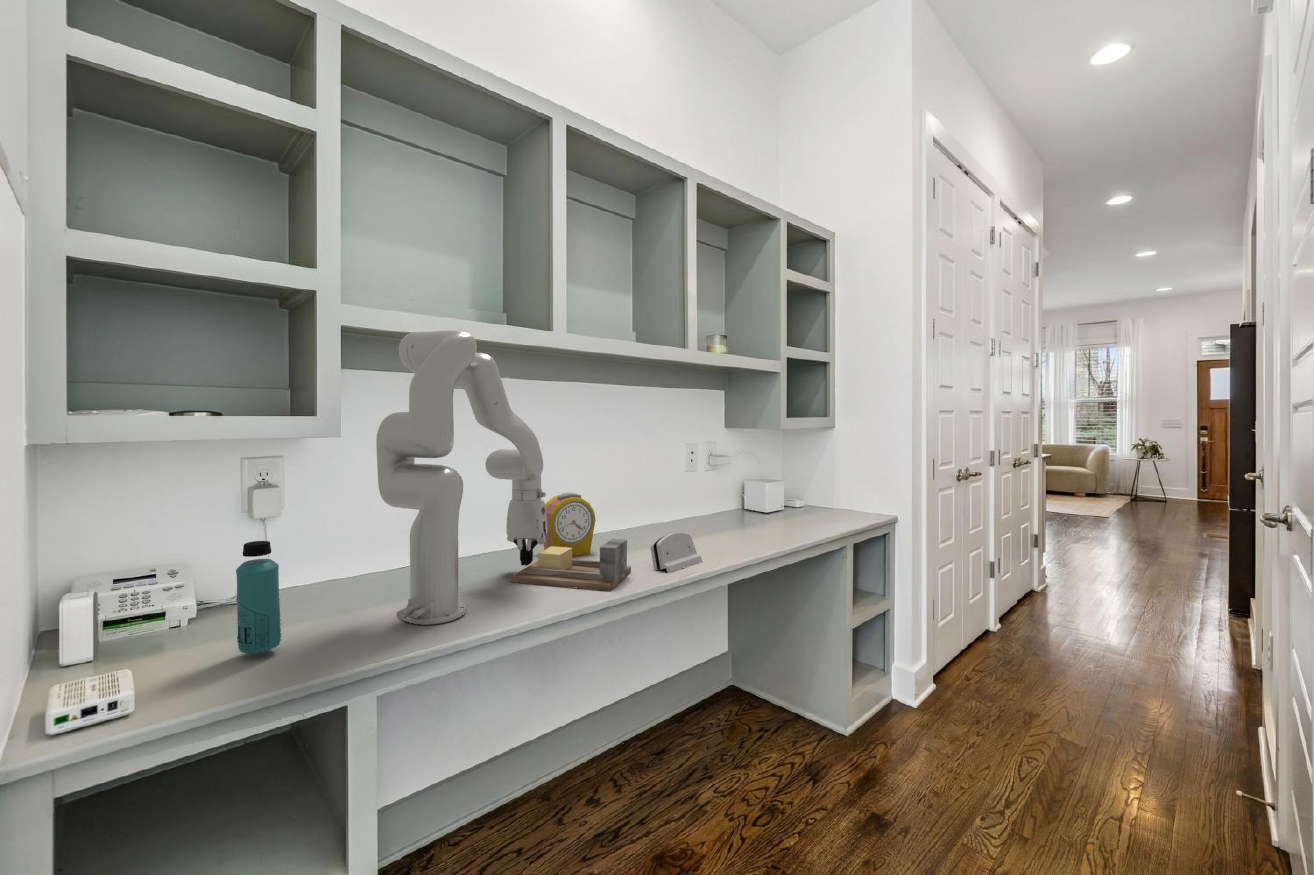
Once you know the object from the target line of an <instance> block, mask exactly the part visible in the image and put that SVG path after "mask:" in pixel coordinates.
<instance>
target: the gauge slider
mask: <svg viewBox="0 0 1314 875" xmlns="http://www.w3.org/2000/svg"><path fill="white" fill-rule="evenodd" d="M537 557H538V558H537V561H538V568H545V569H557V570H567V569H569V568H570V567H572V559H573V556H572V548H570V546H566V547H554V546H551V547H549V548H547V549H545V550H544V549H543V550H542V551H540V552H538V556H537Z"/></svg>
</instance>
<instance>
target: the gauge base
mask: <svg viewBox="0 0 1314 875" xmlns="http://www.w3.org/2000/svg"><path fill="white" fill-rule="evenodd" d="M627 562H628V539H619V538H612V539H610V540H609V541H607V542H606V543H604V544H602V545H601V546H600V547H599V560H590V559H577V558H572V567H570V568H569V569H567V570H557V569H545V568H538V560H537V561H535V562H534V563H531V564H529V565H528V566H527V567H525V568H523V569H521V570H520V571H518V572H516V573H514V574H513V575H511V576H510V581H511V583H515V582H520V583H519V584H526V583H530V584H529V585H537V584H539V586H548V585H550V587H559V586H560V587H561V588H570V587H577V588H576V589H581V588H585V589H584V590H592V589H597V590H596V591H603V590H605V591H604V592H611V591H612V590H613V589H614V588H615V587H616V586H617V585H618V584H619V583H620V582H621V581H623V579H625V578H626V577H627V576H628V575H629V574H630V573H632V566H631V565H628V564H627ZM613 587H614V588H613ZM612 588H613V589H612ZM611 589H612V590H611Z"/></svg>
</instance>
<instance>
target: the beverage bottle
mask: <svg viewBox="0 0 1314 875" xmlns="http://www.w3.org/2000/svg"><path fill="white" fill-rule="evenodd" d="M242 546H243V547H242V548H243V549H242V556H243V557H245V558H246V557H248V558H252V557H254V558H255V557H262V556H267V555H271V554H272V547H271V542H270V541H268V540H253V541H249V542H245V543H244V544H243V545H242ZM279 567H280V565H279V563H277V562H276V561H274V560H272V559H271V558H255V559H250V560H245V561H244V562H243V563H241V564H240V565H239V566H238V567H237V568H236V569H235V574H236V596H235V597H236V607H237V612H236V615H237V617H236V618H237V623H236V625H237V637H236V644H237V648H238V651H239V652H240V653H242V654H257V653H263V652H267V651H270V650H273V649H275V648H277V647H278V646H279V645H280V644H281V641H282V629H281V626H282V624H281V623H282V622H281V619H282V617H281V616H282V615H281V605H280V604H281V601H280V581H279V576H280V575H279V574H280V573H279V569H280V568H279Z"/></svg>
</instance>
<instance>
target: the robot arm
mask: <svg viewBox="0 0 1314 875" xmlns="http://www.w3.org/2000/svg"><path fill="white" fill-rule="evenodd" d="M477 347H478V346H477V340H476V339H475V337H474V336H473V335H472V334H471V333H469V332H466V331H463V330H435V331H417V332H411V333H408V334H406V335H405V336H404V337H403V338H402V339H401V340H400V342H399V344H398V356H399V358H400V360H401V362H402V364H403V365H404V366H405V367H406V369H408V370H409V371H410V372H411V373H414V374H413V377H412V378H411V381H410V384H409V390H408V411H397V412H392V413H391V414H388V415H387V416H386V417H384V419H383V420H382V421H381V422H380V424H379V427H378V429H377V433H376V439H375V441H376V444H375V446H376V462H377V463H376V465H377V466H376V468H377V469H376V470H377V485H378V490H379V493H380V494H379V495H380V497H381V499H382V500H383V502H384V503H385V504H387V505H388V506H389V507H393V508H396V509H397V508H399V509H410V510H417V511H418V513H417V515H416V517H415V518H414V521H413V522H412V525H411V527H410V531H409V590H410V591H409V598H407V605H406V606H405V607H403V608H402V609H399V610H397V612H396V618H397V619H398V620H399V621H402V620H403V621H404V622H406V623H408V622H409V623H408V624H412V623H413V624H412V625H419V624H420V625H421V626H423V625H424V626H425V625H426V626H428V625H438V624H444V623H448V622H451V621H456V620H457V618H458V619H460V618H461V617H463V616H464V615H465V614H466V613H467V606H466V604H465V603H464V602H461V601H459V518H460V509H461V504H462V499H463V496H464V495H463V494H464V481H463V478H462V476H461V474H460V473H459V472H458V471H457V470H456V469H454V468H452V467H450V466H447V465H443V464H429V463H415V459H441V458H445V457H446V456H448V455H449V454H451V452H452V450H453V447H454V443H455V426H454V424H455V423H454V422H455V420H454V390H464V391H465V393H466V396H467V398H468V401H469V404H470V406H471V410H472V413H473V415H474V418H475V419H474V420H476V423H477V424H479V425H480V426H482V427H483V428H486V429H488V430H489V431H492V433H496V434H498V435H499V436H501V437H504V438H505V439H506V440H507V441H510V443H511V444H512V445H514V447H515V448H516V449H497V450H494V451H492V452H491V453H490V454H488V455H487V458H486V459H485V464H484V465H485V470H486V472H487V473H488V475H489V476H490V477H493V478H494V479H498V480H509V481H511V500H509V502H508V503H509V504H508V508H507V513H506V514H507V517H506V529H505V530H506V535H507V537H506V541H508V542H511V543H514V544H515V546H517V549H518V551H519V561H520V565H521V566H527V567H528V566H530V565H532V564H533V560H534V549H535V548H536V546H537V545H541V544H543V543H545V542H546V538H545V536H546V535H547V532H548V526H547V514H546V507H545V504H546V502H545V500H543V498H545V497H546V495H547V493H546V491H543V488H542V472H544V471H543V469H544V459H543V453H542V450H541V447H540V442H539V440H538V438H537V436H536V434H535V433H534V431H533V430H532V429H531V428H530V427H529V425H528V424H527V423H526V422H525V421H524V420H523V419H522V418H521V417H520V416H518V415H517V413H515V412H514V411H513V410H512V409H511V406H510V403H509V401H508V397H507V394H506V390H505V387H504V384H503V381H502V380H503V379H502V377H501V375H500V370H499V368H498V365H497V363H496V361H495V359H494V358H493V357H492V356H491V355H489V354H487V353H484V352H477V350H478V348H477ZM462 615H463V616H462ZM459 617H460V618H459ZM420 625H419V626H420Z"/></svg>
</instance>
